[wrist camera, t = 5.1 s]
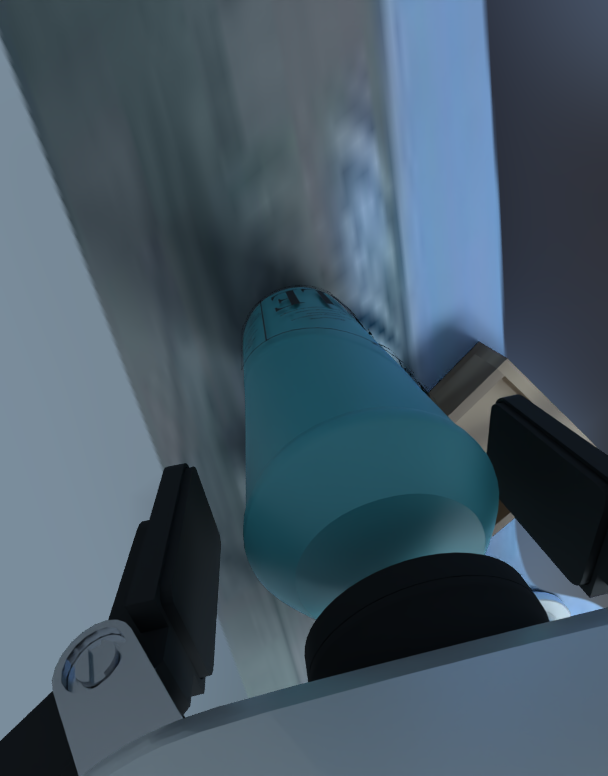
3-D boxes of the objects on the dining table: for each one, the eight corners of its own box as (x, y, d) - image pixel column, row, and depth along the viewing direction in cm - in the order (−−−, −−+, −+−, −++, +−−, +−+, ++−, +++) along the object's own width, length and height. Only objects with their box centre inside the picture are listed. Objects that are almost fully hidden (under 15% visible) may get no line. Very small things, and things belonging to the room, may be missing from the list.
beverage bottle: (262, 394, 24) (319, 925, 6) (221, 296, 21) (116, 799, 3) (358, 361, 24) (680, 805, 6) (331, 258, 21) (808, 564, 3)
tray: (566, 426, 29) (598, 449, 27) (456, 521, 32) (475, 550, 30) (479, 341, 25) (507, 358, 22) (360, 461, 28) (373, 488, 25)
